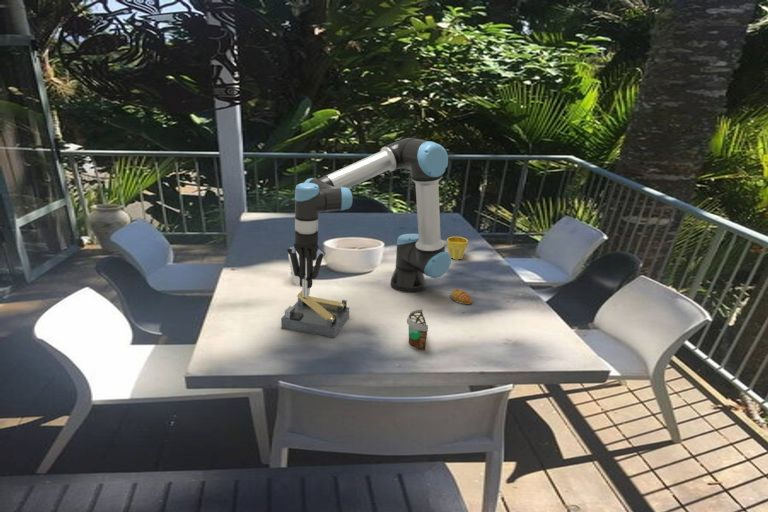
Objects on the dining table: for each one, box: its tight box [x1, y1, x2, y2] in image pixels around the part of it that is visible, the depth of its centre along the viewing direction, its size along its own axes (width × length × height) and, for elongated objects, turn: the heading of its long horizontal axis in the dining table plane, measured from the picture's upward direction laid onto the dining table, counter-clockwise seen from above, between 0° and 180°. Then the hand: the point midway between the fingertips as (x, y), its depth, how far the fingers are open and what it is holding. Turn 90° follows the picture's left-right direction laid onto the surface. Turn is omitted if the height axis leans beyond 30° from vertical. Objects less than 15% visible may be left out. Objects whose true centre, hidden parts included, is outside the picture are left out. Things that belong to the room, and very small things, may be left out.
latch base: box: [280, 297, 350, 339], centre depth 176 cm, size 20×17×7 cm
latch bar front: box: [296, 290, 335, 322], centre depth 168 cm, size 15×3×2 cm
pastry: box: [449, 288, 473, 305], centre depth 200 cm, size 9×7×4 cm
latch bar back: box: [309, 295, 346, 308], centre depth 180 cm, size 15×3×2 cm, turn 75°
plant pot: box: [446, 236, 469, 260], centre depth 245 cm, size 10×10×10 cm
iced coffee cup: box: [406, 309, 429, 351], centre depth 166 cm, size 12×6×10 cm, turn 5°
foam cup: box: [288, 251, 307, 286], centre depth 207 cm, size 10×9×13 cm
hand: (305, 295), depth 168 cm, fingers closed
